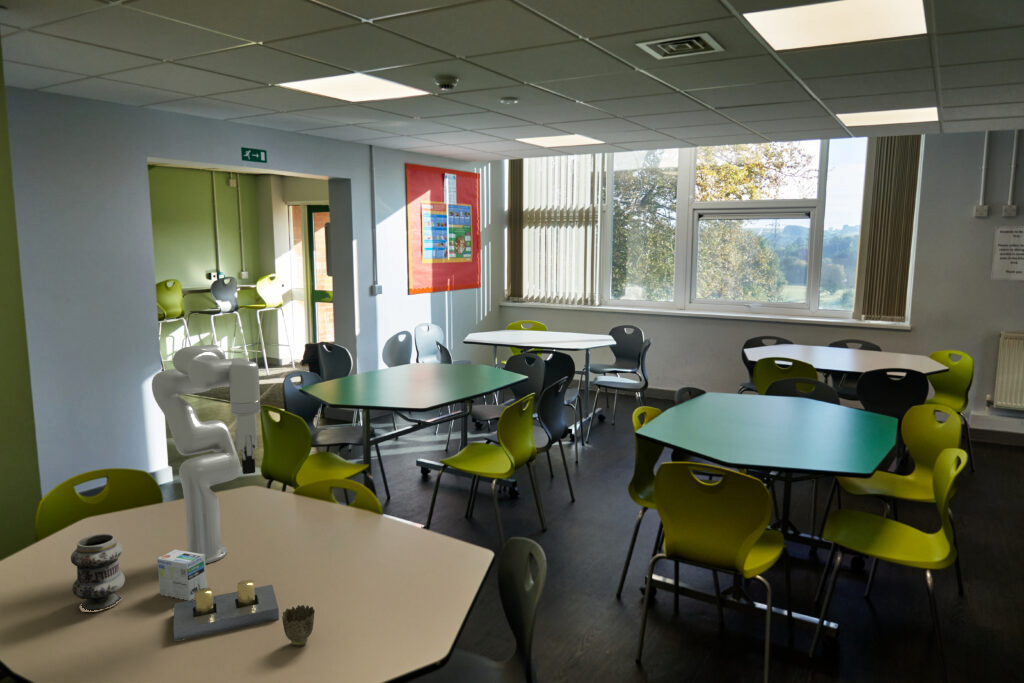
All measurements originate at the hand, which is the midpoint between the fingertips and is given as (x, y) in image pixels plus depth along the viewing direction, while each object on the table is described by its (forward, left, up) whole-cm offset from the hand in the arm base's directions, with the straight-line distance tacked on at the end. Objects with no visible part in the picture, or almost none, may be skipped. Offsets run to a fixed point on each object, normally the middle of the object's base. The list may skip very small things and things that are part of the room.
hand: (248, 472), depth 187 cm
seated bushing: (+14, -13, -33) cm, 38 cm away
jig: (+14, -8, -33) cm, 37 cm away
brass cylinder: (+14, -3, -33) cm, 36 cm away
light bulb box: (-5, -18, -33) cm, 38 cm away
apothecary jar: (-8, -38, -33) cm, 51 cm away
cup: (+35, +7, -33) cm, 49 cm away
